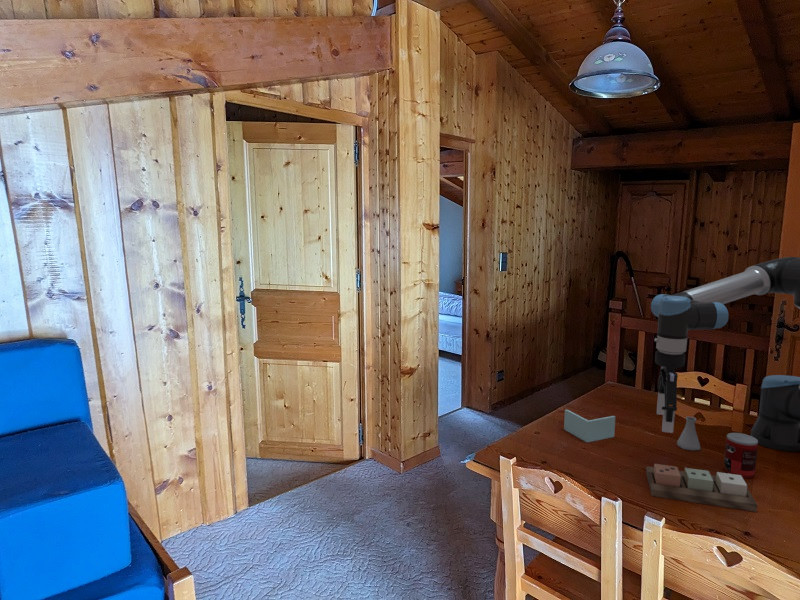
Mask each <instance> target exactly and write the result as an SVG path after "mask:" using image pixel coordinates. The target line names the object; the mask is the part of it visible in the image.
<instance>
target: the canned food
mask: <svg viewBox="0 0 800 600" xmlns="http://www.w3.org/2000/svg"><path fill="white" fill-rule="evenodd" d="M758 448H759V444H758V440H757V439H756V438H754V437H752V436H751V435H748V434H746V433H741V432H740V433H739V432H730V433H727V435H726V438H725V450H724V459H723V469H724V471H725V473H726V472H727V473H728V474H735V475H741V476H742V478H743V479H751V478H753V477H754V476H755V474H756V467H757V465H756V464H757V457H758Z"/></svg>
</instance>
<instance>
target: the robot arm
mask: <svg viewBox="0 0 800 600" xmlns="http://www.w3.org/2000/svg"><path fill="white" fill-rule="evenodd" d="M775 293H776V294H783V295H784V294H786V295H790V296H793V304H794V306H795V307H796V308H797V309H799V310H800V257H799V256H798V257H797V256H785V257H779V258H773V259H771V260H767V261H764V262H761V263H760V262H759V263H757V264H754V265H751V266H750V265H749V266H748V267H746V269H744V271H743V272H740V273H737V274H733V275H730V276H727V277H724V278H721V279H719V280H715V281H712V282H711V281H710V282H708V283H706V284H703V285H700V286H697V287H694V288H693V287H692V288H690V289H687V290H684V291H681V292H677V293H674V294H668V293H667V294H666V293H665V294H664V293H663V294H662V293H660V294H657V295H655V297H653V299H652V300H651V303H650V310H651V313H652V314H653V315H654V316H655V317H657V318H658V319H657V332H656V337H655V338H654V340H653V341H654V342H655V343H656V346H655V349H657V350H656V351H655V355H654V363H655V364H656V365H657V366H659V367H660V371H659V378H658V383H657V391H658V393H657V403H656V415H661V416H662V422H661V423H662V426H661V432H663V433H670V434H673V433H674V427H675V426H674V425H675V413H676V411H677V410H678V408H677V407H678V406H677V403H678V402H677V400H678V399H677V398H678V395H677V394H678V378H679V376H678V372H677V370H676V369H678V368H683V367H685V364H686V352H687V346H688V333H689V331H695V330H714V329H721V328H723V327H725V326H726V325H727V323H728V322H729V311H728V310H729V309H727V307H726V306H725V304H728V303H732V302H734V301H737V300H741V299H743V298H747V297H749V296H752V295H757V296H763V295H766V294H775ZM750 436H752V437H754V438H756V439H757V440H758V445H761V446H762V447H766V448H769V449H773V450H777V451H783V452H784V451H785V452H799V451H800V376H796V375H783V374H776V375H775V374H772V375H767V376H765V377H763V379H762V384H761V386H760V400H759V413H758V417H757V419H756V420H755V422H754V424H753V426H752V427H751V430H750Z"/></svg>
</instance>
